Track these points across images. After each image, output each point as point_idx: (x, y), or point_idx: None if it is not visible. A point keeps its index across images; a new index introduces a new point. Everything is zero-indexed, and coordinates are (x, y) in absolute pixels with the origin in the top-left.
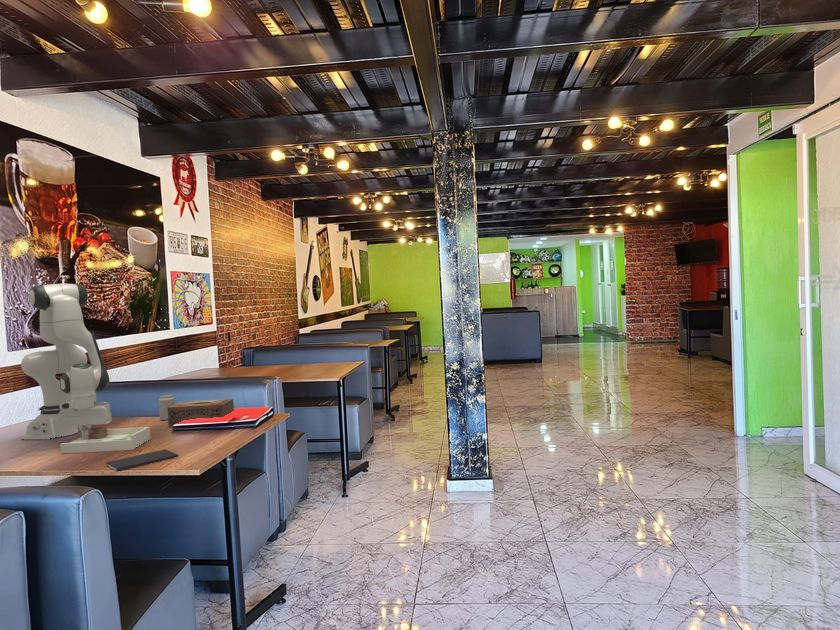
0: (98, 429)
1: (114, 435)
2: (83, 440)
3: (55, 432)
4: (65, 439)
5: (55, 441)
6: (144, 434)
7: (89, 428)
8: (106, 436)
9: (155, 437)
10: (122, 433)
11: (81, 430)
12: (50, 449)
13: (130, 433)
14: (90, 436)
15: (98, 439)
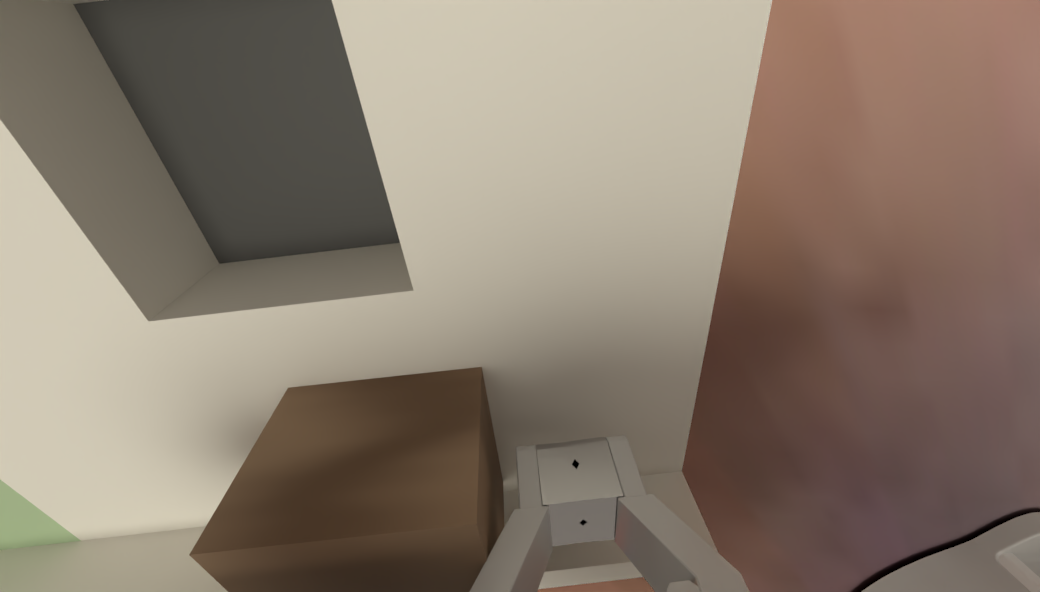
0: (232, 548)
1: None
2: (533, 322)
3: (1017, 585)
4: (884, 513)
5: (958, 475)
6: None
7: (492, 578)
8: None
9: None
10: (158, 547)
11: (660, 522)
12: (968, 222)
13: (60, 553)
14: (444, 406)
15: (291, 359)
